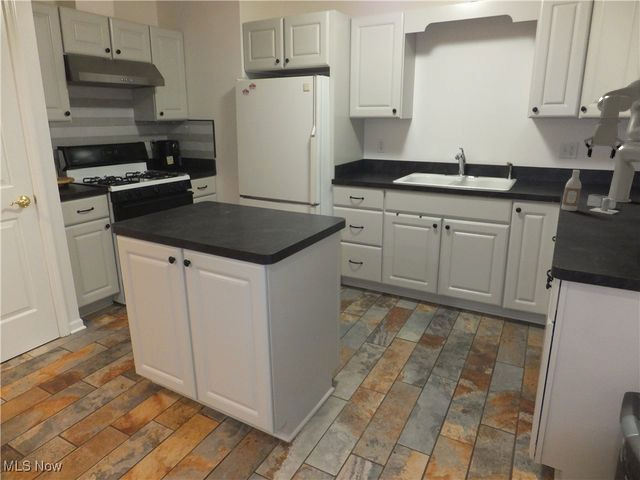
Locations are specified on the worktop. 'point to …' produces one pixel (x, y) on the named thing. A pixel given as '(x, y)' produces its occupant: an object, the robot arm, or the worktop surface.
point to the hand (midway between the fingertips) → (600, 157)
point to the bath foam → (572, 192)
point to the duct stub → (604, 207)
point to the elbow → (599, 201)
